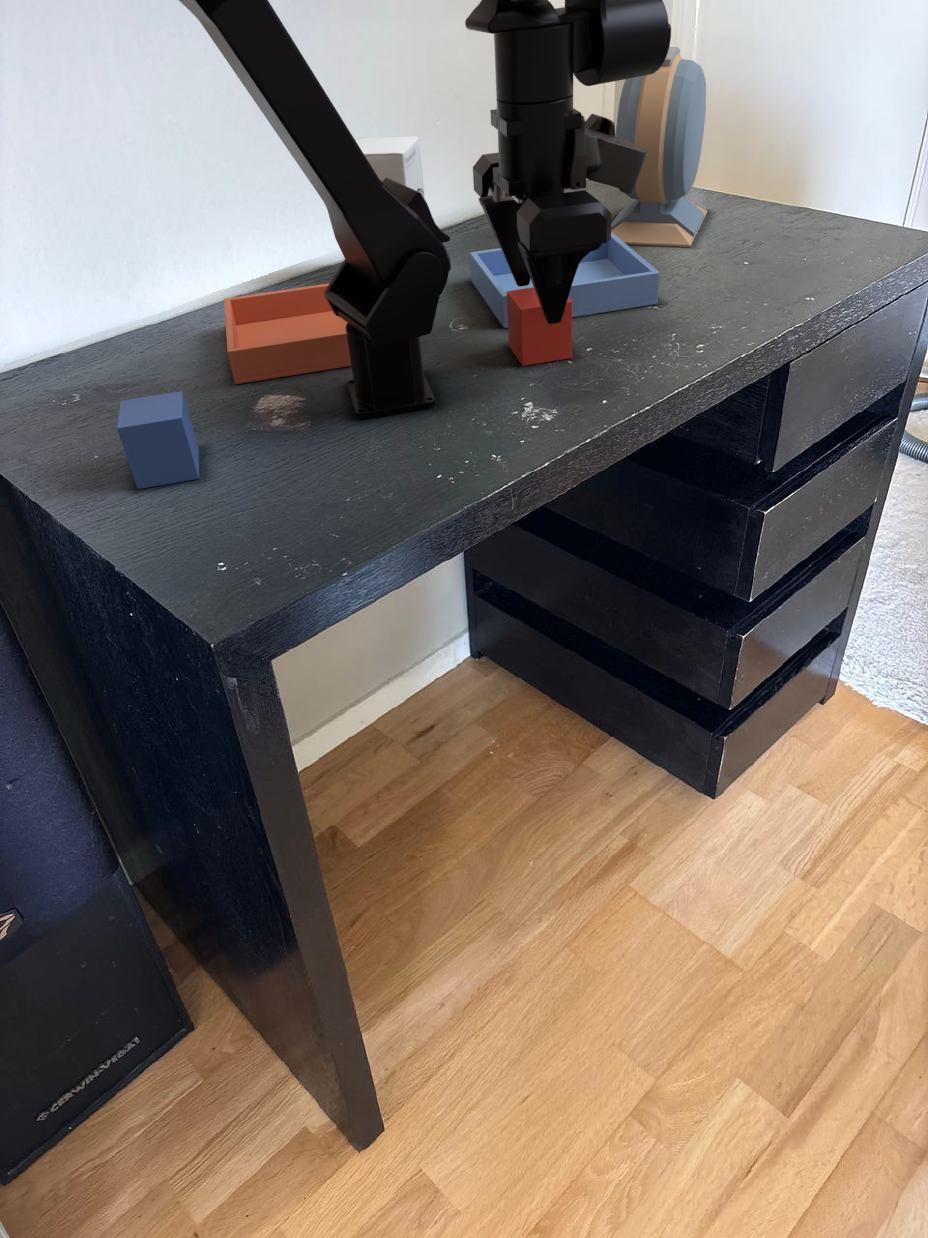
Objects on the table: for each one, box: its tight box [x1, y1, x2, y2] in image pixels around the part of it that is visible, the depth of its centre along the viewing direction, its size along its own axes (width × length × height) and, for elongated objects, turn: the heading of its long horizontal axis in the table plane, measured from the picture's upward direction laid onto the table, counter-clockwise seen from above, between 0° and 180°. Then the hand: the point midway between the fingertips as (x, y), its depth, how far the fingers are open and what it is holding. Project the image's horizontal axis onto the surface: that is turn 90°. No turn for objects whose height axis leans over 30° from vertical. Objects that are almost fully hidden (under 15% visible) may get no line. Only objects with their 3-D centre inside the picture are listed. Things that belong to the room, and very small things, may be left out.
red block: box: [507, 287, 573, 367], centre depth 80 cm, size 4×4×5 cm
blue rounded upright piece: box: [611, 46, 708, 248], centre depth 100 cm, size 14×10×18 cm
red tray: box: [223, 282, 351, 385], centre depth 86 cm, size 13×15×3 cm
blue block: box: [116, 390, 200, 490], centre depth 68 cm, size 4×4×5 cm
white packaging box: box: [354, 135, 426, 200], centre depth 96 cm, size 7×7×13 cm
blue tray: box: [469, 232, 661, 329], centre depth 91 cm, size 13×15×3 cm
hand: (538, 303), depth 79 cm, fingers open, 9 cm apart
